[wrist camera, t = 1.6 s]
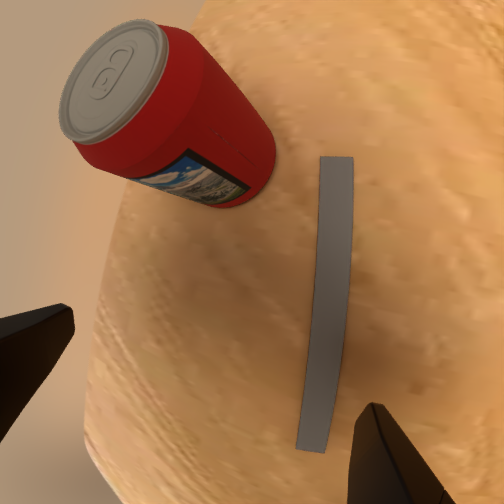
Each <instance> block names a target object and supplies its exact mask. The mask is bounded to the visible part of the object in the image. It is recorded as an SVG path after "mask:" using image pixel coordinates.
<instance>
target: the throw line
mask: <svg viewBox="0 0 504 504" xmlns="http://www.w3.org/2000/svg"><path fill="white" fill-rule="evenodd" d="M352 229H353V157H320V197H319V223H318V243H317V260H316V275H315V289H314V301H313V313H312V324H311V334H310V344H309V354H308V363H307V371H306V379H305V387H304V395H303V403H302V410H301V417H300V424H299V431H298V437H297V443H296V449H298V450H304V451H311V452H318V453H325V450H326V445H327V440H328V435H329V430H330V425H331V420H332V414H333V409H334V403H335V397H336V391H337V385H338V378H339V371H340V364H341V357H342V349H343V341H344V333H345V324H346V315H347V304H348V293H349V281H350V267H351V250H352Z"/></svg>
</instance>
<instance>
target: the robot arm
mask: <svg viewBox="0 0 504 504" xmlns="http://www.w3.org/2000/svg"><path fill="white" fill-rule="evenodd" d="M74 332H75V324H74V315H73V310H72V308H71V307H69V306H67V305H65V304H62V303H60V304H55V305H51V306H47V307H43V308H40V309H36V310H32V311H28V312H24V313H20V314H16V315H12V316H8V317H4V318H0V443H1V441H2V440H3V438H4V437H5V435H6V434H7V432H8V431H9V429H10V427H11V426H12V425H13V423H14V422H15V420H16V419H17V418H18V416H19V415H20V413H21V412H22V410H23V409H24V408H25V406H26V405H27V403H28V402H29V401H30V399H31V398H32V396H33V395H34V394H35V392H36V391H37V389H38V388H39V387H40V385H41V384H42V383H43V381H44V380H45V379H46V378H47V376H48V375H49V373H50V372H51V371H52V369H53V368H54V366H55V364H56V363H57V361H58V359H59V358H60V356H61V355H62V353H63V351H64V350H65V348H66V347H67V345H68V343H69V342H70V340H71V339H72V337H73V335H74ZM347 504H456V503H455V502H454V501H453V499H452V498H451V497H450V495H449V494H448V492H447V491H446V490H444V487H443V486H442V484H441V483H440V481H439V480H438V479H437V477H436V476H435V474H434V473H433V472H432V470H431V469H430V467H429V466H428V465H427V463H426V462H425V461H424V459H423V458H422V456H421V455H420V454H419V452H418V451H417V450H416V448H415V447H414V445H413V444H412V443H411V441H410V440H409V439H408V437H407V436H406V435H405V433H404V432H403V430H402V429H401V428H400V426H399V425H398V424H397V422H396V421H395V420H394V418H393V417H392V415H391V414H390V413H389V411H388V410H387V409H386V407H385V406H384V405H383V404H379V403H373V402H371V403H369V404H368V405H367V406H366V407H365V409H364V410H363V412H362V413H361V414H360V416H359V417H358V419H357V420H356V423H355V426H354V435H353V443H352V450H351V457H350V464H349V475H348V498H347Z"/></svg>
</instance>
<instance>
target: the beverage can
mask: <svg viewBox="0 0 504 504" xmlns="http://www.w3.org/2000/svg"><path fill="white" fill-rule="evenodd" d="M59 122H60V127H61V130H62V131H63V133H64V135H65V136H66V137H67V138H69V139H70V140H72V141H73V143H74V144H75V146H76V147H77V149H78V150H79V152H80V153H81V155H82V156H83V158H84V159H85V160H86V161H87V162H88V163H89V164H90V165H92V166H93V167H95V168H97V169H100V170H103V171H106V172H109V173H112V174H115V175H118V176H121V177H124V178H126V179H129V180H132V181H135V182H138V183H141V184H144V185H147V186H150V187H153V188H156V189H159V190H162V191H165V192H168V193H171V194H174V195H177V196H180V197H183V198H186V199H189V200H192V201H195V202H198V203H201V204H205V205H208V206H211V207H218V208H224V207H231V206H235V205H238V204H241V203H243V202H245V201H247V200H248V199H250V198H251V197H253V196H254V195H255V194H256V193H257V192H258V191H259V190H260V189H261V188H262V187H263V186H264V185H265V183H266V182H267V180H268V179H269V177H270V175H271V172H272V170H273V167H274V163H275V156H276V149H275V142H274V138H273V136H272V133H271V131H270V130H269V128H268V127H267V125H266V124H265V122H264V121H263V120H262V118H261V117H260V115H259V114H258V113H257V111H256V110H255V109H254V107H253V106H252V105H251V103H250V102H249V101H248V100H247V98H246V97H245V96H244V94H243V93H242V92H241V91H240V89H239V88H238V87H237V86H236V84H235V83H234V82H233V81H232V79H231V78H230V77H229V76H228V75H227V73H226V72H225V71H224V70H223V69H222V67H221V66H220V65H219V64H218V63H217V62H216V61H215V59H214V58H213V57H212V56H211V55H210V54H209V53H208V51H207V50H206V49H205V48H204V47H203V46H202V45H201V44H200V43H199V41H198V40H197V39H196V38H195V37H194V36H193V35H191V34H190V33H188V32H187V31H184V30H182V29H179V28H175V27H169V26H163V25H157V24H155V23H154V22H152V21H149V20H145V19H136V20H131V21H128V22H125V23H122V24H120V25H118V26H116V27H114V28H112V29H111V30H109V31H108V32H106V33H105V34H104V35H102V36H101V37H100V38H99V39H97V40H96V41H95V42H94V43H93V44H92V45H91V46H90V47H89V48H88V50H87V51H86V52H85V53H84V54H83V55H82V57H81V58H80V59H79V61H78V62H77V64H76V65H75V67H74V68H73V70H72V72H71V74H70V75H69V78H68V79H67V82H66V84H65V87H64V89H63V92H62V95H61V99H60V105H59Z"/></svg>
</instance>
